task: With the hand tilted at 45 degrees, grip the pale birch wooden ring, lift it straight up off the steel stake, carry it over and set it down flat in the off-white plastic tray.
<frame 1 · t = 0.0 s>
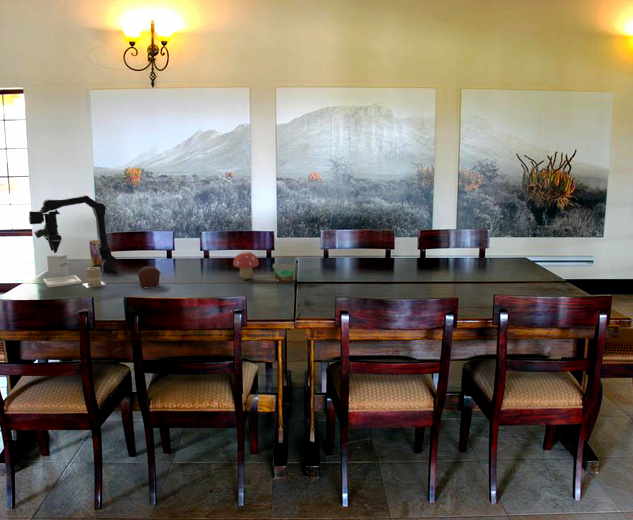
hand: (53, 251, 311), 15 cm above the table, tool pointing down, fingers open, 9 cm apart
supplement box: (59, 278, 314), on the table
birch ring: (94, 284, 296), point 1 cm above the table, touching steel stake
candy box: (99, 265, 349), on the table
plastic tray: (62, 283, 301), on the table
decorative mushroom: (246, 279, 308), on the table
food container: (286, 282, 301), on the table
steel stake: (94, 285, 296), on the table
muffin: (149, 286, 294), on the table
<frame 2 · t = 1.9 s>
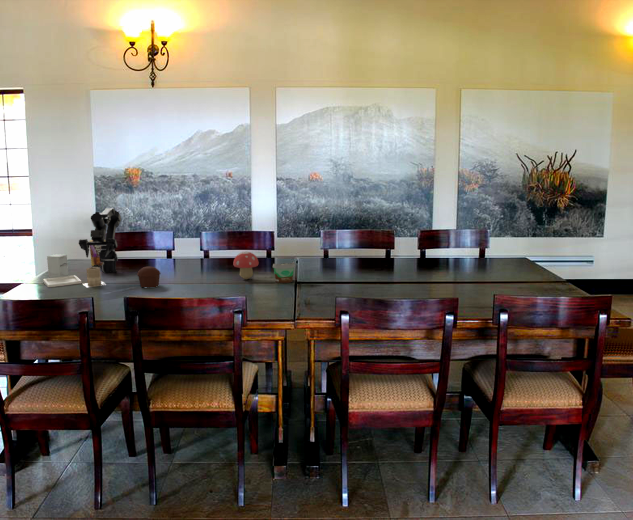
hand: (96, 256, 301), 13 cm above the table, tool tilted 45°, fingers open, 9 cm apart
nothing on the table moved.
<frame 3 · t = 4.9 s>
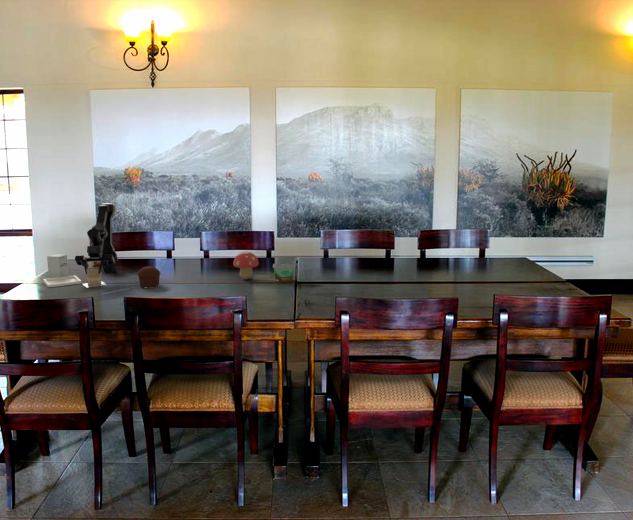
hand: (92, 273, 293), 7 cm above the table, tool tilted 45°, fingers closed on birch ring, 6 cm apart
birch ring: (94, 284, 296), point 1 cm above the table, touching gripper, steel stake
everything else where it was.
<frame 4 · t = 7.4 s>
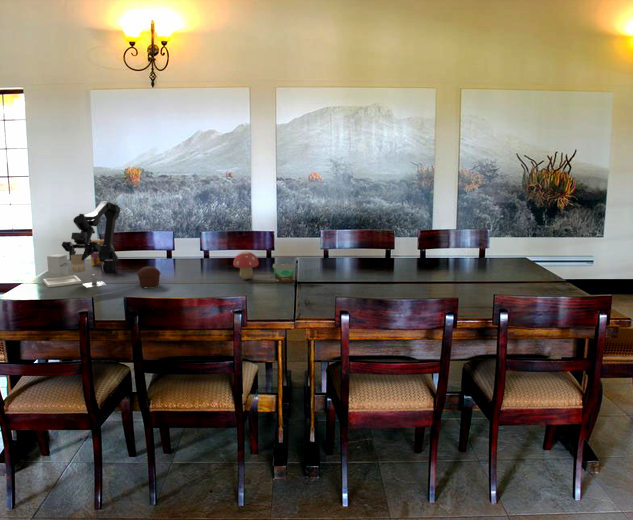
hand: (76, 260, 293), 13 cm above the table, tool tilted 45°, fingers closed on birch ring, 6 cm apart
birch ring: (78, 271, 295), point 7 cm above the table, touching gripper
everything else where it was.
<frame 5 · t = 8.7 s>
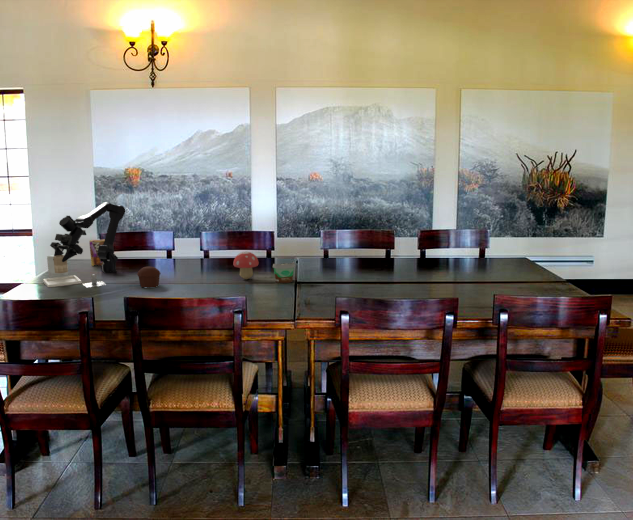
hand: (58, 261, 297), 12 cm above the table, tool tilted 45°, fingers closed on birch ring, 6 cm apart
birch ring: (61, 271, 299), point 6 cm above the table, touching gripper
everything else where it was.
when the fingers open (8 cm above the table, at t = 10.0 s): birch ring drops 1 cm, resting on plastic tray.
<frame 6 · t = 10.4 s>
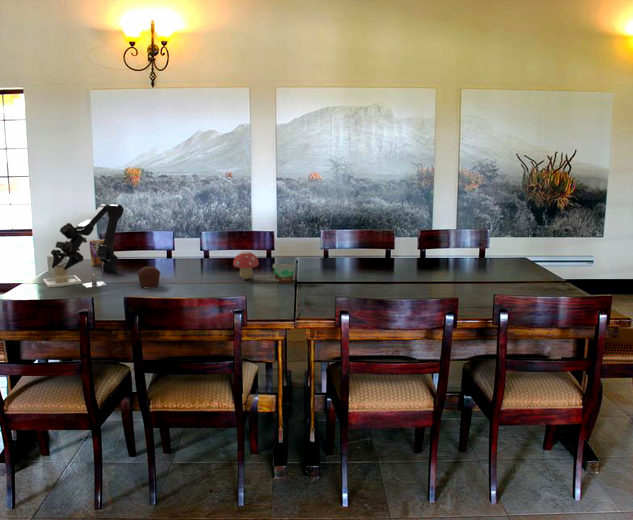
hand: (58, 268, 298), 8 cm above the table, tool tilted 45°, fingers open, 9 cm apart
birch ring: (62, 282, 300), point 1 cm above the table, touching plastic tray
everything else where it was.
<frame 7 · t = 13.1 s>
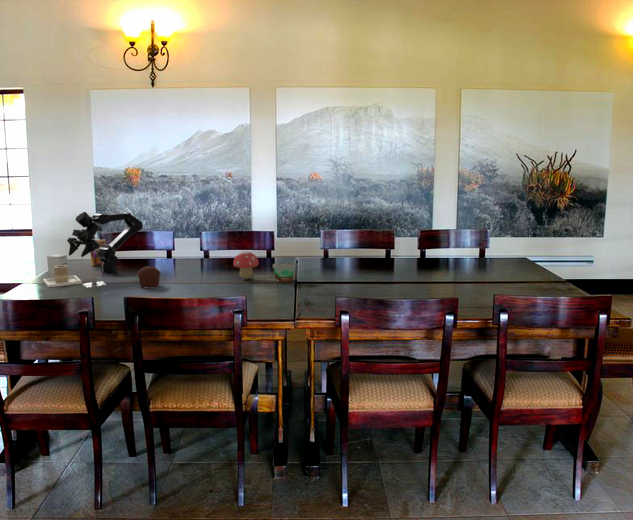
hand: (75, 255, 307), 13 cm above the table, tool tilted 45°, fingers open, 9 cm apart
nothing on the table moved.
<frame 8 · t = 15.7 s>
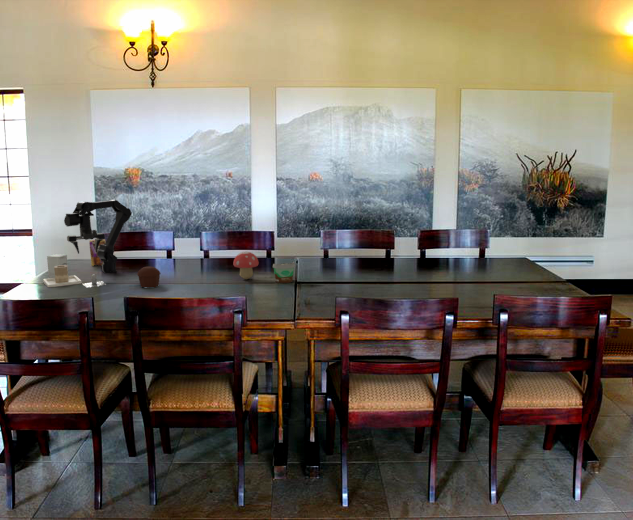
hand: (87, 252, 317), 13 cm above the table, tool pointing down, fingers open, 9 cm apart
nothing on the table moved.
at the end: birch ring inside the target area on the plastic tray (0.0 cm from its centre), point 0.8 cm above the plastic tray's base; birch ring tilted 0°; the gripper is holding nothing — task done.
